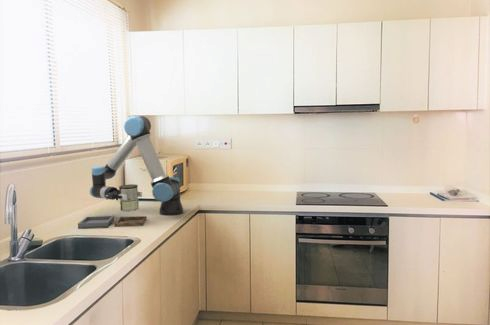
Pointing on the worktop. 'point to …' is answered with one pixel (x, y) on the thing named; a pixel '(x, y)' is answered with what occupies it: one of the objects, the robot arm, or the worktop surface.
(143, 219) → the walnut holder
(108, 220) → the gray tray
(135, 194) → the coffee can
